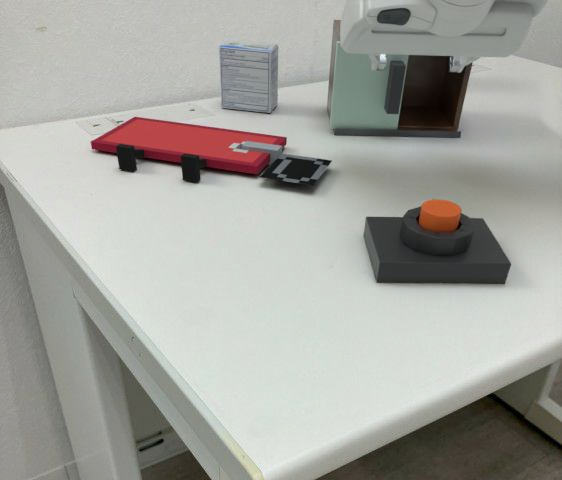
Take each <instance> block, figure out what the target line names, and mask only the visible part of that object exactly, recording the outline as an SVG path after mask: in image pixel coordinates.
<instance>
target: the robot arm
mask: <svg viewBox="0 0 562 480" xmlns="http://www.w3.org/2000/svg"><path fill="white" fill-rule="evenodd" d="M547 3H548V0H345V3H344V6H343V9H342V13H341V17H340V20H341V24H340V44H341V48H342V49H343V50H344V51H345V52H346V53H349V54H368V56H369V58H370V59H371V60H372V71H375V70H376V71H383V70H384V69H385V67H386V64H387V58H386V55H387V54H389V55H429V56H450V57H449V61H448V65H449V68H448V71H449V72H457V73H461V72H462V70H463V68H464V67H465V66H466V65H468V64H470V63H472V62H473V63H474V62H476V61H478V60H479V59H481V58H508V57H510V56H512V55H514V54H516V53H518V51H519V50H520V49H521V47H522V45H523V44H524V42H525V40H526V38H527V36H528V34H529V31H530V30H531V26H532V23H533V19H534V18H535V17H537V16H538V15H539V14H541V12H542V11H543V9H544V8H545V6H546V5H547ZM473 63H472V64H473Z"/></svg>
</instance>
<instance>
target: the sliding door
mask: <svg viewBox="0 0 562 480" xmlns="http://www.w3.org/2000/svg"><path fill="white" fill-rule="evenodd" d="M408 56H409V55H389V54H387V55H386V58H387V64H386V67H385V69H384V70H383V71H376V70H375V71H372V60H371V59H370V58H369V56H368V54H349V53H346V52H345V51H344V50H343V49H342V48H341V44H340V41H337V45H336V58H335V70H334V82H333V94H332V106H331V118H330V117H329V120H330V121H329V129H331V130H333V129H334V128H342V129H390V130H397V127H398V121H399V114H400V108H401V101H402V95H403V89H404V82H405V76H406V69H407V63H408Z"/></svg>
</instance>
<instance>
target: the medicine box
mask: <svg viewBox="0 0 562 480" xmlns="http://www.w3.org/2000/svg"><path fill="white" fill-rule="evenodd" d="M218 55H219V80H220V105H221V108H222V109H229V110H230V109H231V110H237V111H238V110H239V111H247V112H249V111H250V112H258V113H266V114H270V113H272V112H273V110H274V109H275V108H276V106H278V101H279V99H278V95H279V93H278V91H279V88H278V87H279V44H278V43H271V42H263V41H254V40H253V41H251V40H242V39H241V40H239V39H227V40H226V41H224V42H223V43H222V44H221V45H220V46H219V47H218Z"/></svg>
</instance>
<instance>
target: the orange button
mask: <svg viewBox="0 0 562 480" xmlns="http://www.w3.org/2000/svg"><path fill="white" fill-rule="evenodd" d="M421 206H422V207H421ZM421 206H420V207H421V212H420V217H419V225H420V226H422V227H423V228H425V229H428V230H432V231H436V232H452V231H456V230H457V227H458V223H459V219H460V215H461V213H462V208H461V206H459V205H458V204H457V203H455V202H452V201H449V200H445V199H437V198H436V199H429V200H425V201H424V202H423V203H422V204H421Z"/></svg>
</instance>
